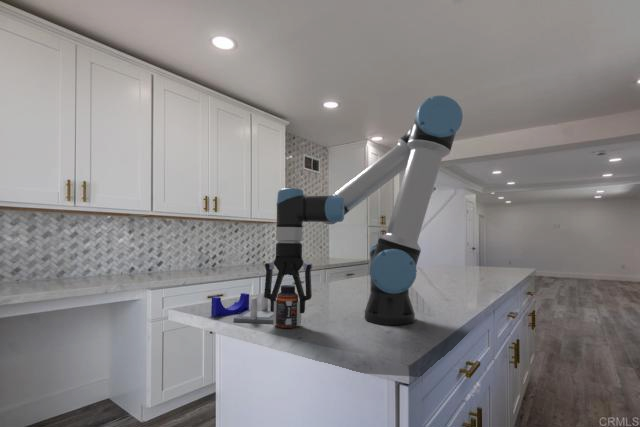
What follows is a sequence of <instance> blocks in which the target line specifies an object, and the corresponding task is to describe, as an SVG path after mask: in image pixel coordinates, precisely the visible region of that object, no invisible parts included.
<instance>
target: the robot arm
mask: <svg viewBox="0 0 640 427" xmlns="http://www.w3.org/2000/svg"><path fill="white" fill-rule="evenodd" d="M463 118H464V116H463V109H462V108H461V106H460V104H459V103H458V102H457V101H456V100H455V99H453V98H451V97H449V96H446V95H434V96H433V95H432V96H431V97H429V98H427V99H425V100H423V102H422V103H421V104H420V105H419V106H418V108H417V110H416V112H415V116H414V119H413V122H412V125H411V126H410V128H409V129H408V130H407V132H406V133H405V134H404V135H403V136H401V137H400V138H399V139H398V140H397V144H396V145H395V146H394V147H392V148H391V149H389V150H388V151H387V152H386V153H384V155H382V156H380V157H379V158H378V159H377V160H376V161H374V162H373V163H372V164H370V165H369V166H368V167H366V168H365V169H364V170H363V171H362V172H360V173H359V174H358V175H356V176H355V177H354V178H352V179H351V180H350V181H349V182H347V183H346V184H344V185H343V186H342V187H341V188H339V190H337V191H335V193H333V194H332V195H305V194H304V191H303V189H301V188H296V187H294V188H293V187H285V188H280V189H279V190H278V192H277V197H276V198H277V199H276V200H277V201H276V231H275V232H276V233H275V236H276V239H275V240H276V241H277V243H275V258H274V260H273V261H272V262H266V263H265V264H264V268H265V280H264V281H265V284H264V291H263V292H264V297H265V298H268V300H269V301H270V308H269V309H270V310H269V311H271V312H274V321H273V323H272V325H274V326H275V325H276V326H277V296H278V294H279V293H280V290H281V286H282V281H283V279H284V277H285V276H287V275H288V276H292V279H293V281H294V286H295V289H296V293H297V295H298V302H297V326H296V327H300V326H301V325H302V314H304V313H305V312H306V301H310V299H311V298H312V297H313V296H312V295H313V294H312V291H313V290H312V275H311V274H312V273H311V272H312V269H313V264H312V263H307V262H304V259H303V244H302V241H303V223H304V222H306V223H307V222H309V223H310V222H312V223H323V224H326V225H334V224H337V223H341V222H343V221H344V218H345V216H346V215H347V214H348V213H349V212H350V211H352V210H353V209H354V208H356V207H357V206H358V205H360V204H361V203H362V202H364V201H365V200H367V198H369V197H370V196H372V194H374V193H375V192H376V191H378V190H379V189H380V188H382V187H383V186H385V185H386V184H387V183H389V182H391V180H392V179H394V178H395V177H396V176H398V174H400V173H401V172H403V171H404V172H403V176H402V179H401V184H400V186H399V190H398V193H397V195H396V196H397V197H396V199H395V203H394V205H393V209H392V212H391V216H390V219H389V222H388V227H387V230H386V233H384V234H382V235H380V236H379V237H378V240H377V243H374V244H372V245H371V246H370V252H369V256H370V257H369V258H370V260H369V261H370V262H369V263H370V264H369V277H370V294H369V297H368V301H367V303H366V306H365V309H364V319H365V320H366V321H367V322H371V323H374V324H379V325H386V326H387V325H388V326H403V325H410V324H413V323H415V322H416V316H415V315H416V314H415V310H414V307H413V303H412V300H411V298H410V294H409V291H410V290H409V289H410V288H411V287H412V286H413V284H414V282H415V281H416V277H417V272H418V271H417V265H418V261H419V258H420V254H421V251H422V248H421V247H420V245H419V243H418V241H419V238H420V234H421V231H422V227H423V224H424V222H425V217H426V214H427V211H428V207H429V204H430V199H431V198H432V193H433V191H434V188H435V184H436V180H437V177H438V174H439V170H440V168H441V163H442V160H443V158H445V157H447V156H448V155H450V154H451V150H452V147H453V143H454V141H455V137H456V135H457V134H456V133H457V132H458V131H459V130H460V128H461V126H462V122H463ZM274 267H276V269H277V270H278V273H277V276H276V281H275V283H274V285H273V290H272V283H273V270H274V269H275V268H274ZM302 267H303V270H304V271H305V272H304V277H305V291H304V288H303V284H302V280H301V277H300V276H301V275H300V272H299V271H300V269H301V268H302Z"/></svg>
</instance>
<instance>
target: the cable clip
mask: <svg viewBox="0 0 640 427" xmlns="http://www.w3.org/2000/svg"><path fill="white" fill-rule="evenodd" d="M221 299H222V298H221V297H219V296H211V308H210V309H211V311H210V312H211V313H210V316H211V315H212V316H211V317H215V318H219V317H226V316H231V315H236V314H242V313H243V312H245V311H247V310H250V293H247V292H241V293H240V295H239V299H238V301H235V302H234V303H233V304H232V305H231V306H229V307H224V305H223V304H222V300H221Z"/></svg>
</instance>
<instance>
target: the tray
mask: <svg viewBox="0 0 640 427" xmlns="http://www.w3.org/2000/svg"><path fill="white" fill-rule="evenodd" d="M264 292H265V291H262V292H261V309H260V310H259V309H258V304H259V303H258V301H259V300H258V297H250V309H249V310H247V311H245V312H243V313H239V315H237V316H235V317H234V318H233V323H254V324H255V323H256V324H273V321H274V312H271V310H269V299H268V298H265V297H264Z"/></svg>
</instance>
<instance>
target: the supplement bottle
mask: <svg viewBox="0 0 640 427" xmlns="http://www.w3.org/2000/svg"><path fill="white" fill-rule="evenodd" d="M276 300H277V324H276V326H277V327H278V328H280V329H293V328H296V327H298V326H297V302H298V301H299V296H298V293H297V292H296V285H295V284H294V285H293V284H283V285H282V284H281V286H280V292H278V295H277V298H276Z"/></svg>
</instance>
